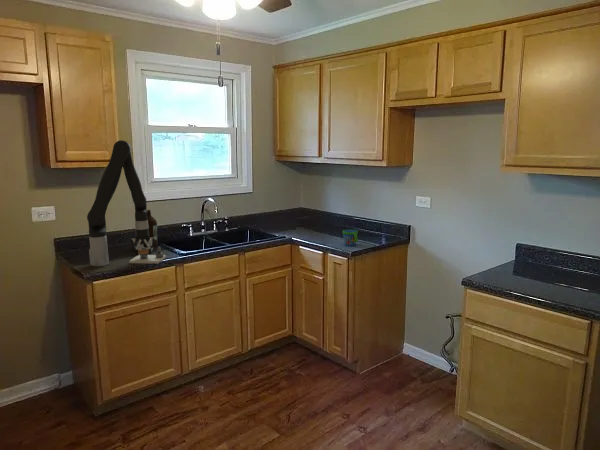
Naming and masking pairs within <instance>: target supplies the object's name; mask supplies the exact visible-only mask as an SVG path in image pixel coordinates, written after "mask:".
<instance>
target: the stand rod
mask: <svg viewBox="0 0 600 450" xmlns="http://www.w3.org/2000/svg"><path fill="white" fill-rule="evenodd" d="M145 248H146V247H144V246H143V248H142V250H145ZM139 255H140V259H147V258H148V255H149V253H146V254H139Z"/></svg>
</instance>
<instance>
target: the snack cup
mask: <svg viewBox="0 0 600 450" xmlns="http://www.w3.org/2000/svg"><path fill="white" fill-rule="evenodd" d="M358 233H359V230H357V229H343V230H342V238H343V241H344V242H343V243H344V245H345V246H346V245H347V247H354V246H356V243H358V241H359V239H358Z"/></svg>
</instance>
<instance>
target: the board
mask: <svg viewBox="0 0 600 450" xmlns="http://www.w3.org/2000/svg"><path fill="white" fill-rule="evenodd" d="M166 258H167V256H166V254H163V257H162V258H156V254H150V255H149V254H148V258H147V259H140V254H139V256H137V255H136V256H135V257H133V258H131V259H130V260H129V264H156V265H157V264H159V263H160V262H162V261H163V260H164V259H166Z"/></svg>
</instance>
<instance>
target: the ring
mask: <svg viewBox="0 0 600 450" xmlns="http://www.w3.org/2000/svg"><path fill="white" fill-rule="evenodd" d="M146 253H148V254H149V250H148V247H145V250H142V248H141V249H138V254H139V255H140V254H146Z"/></svg>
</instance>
